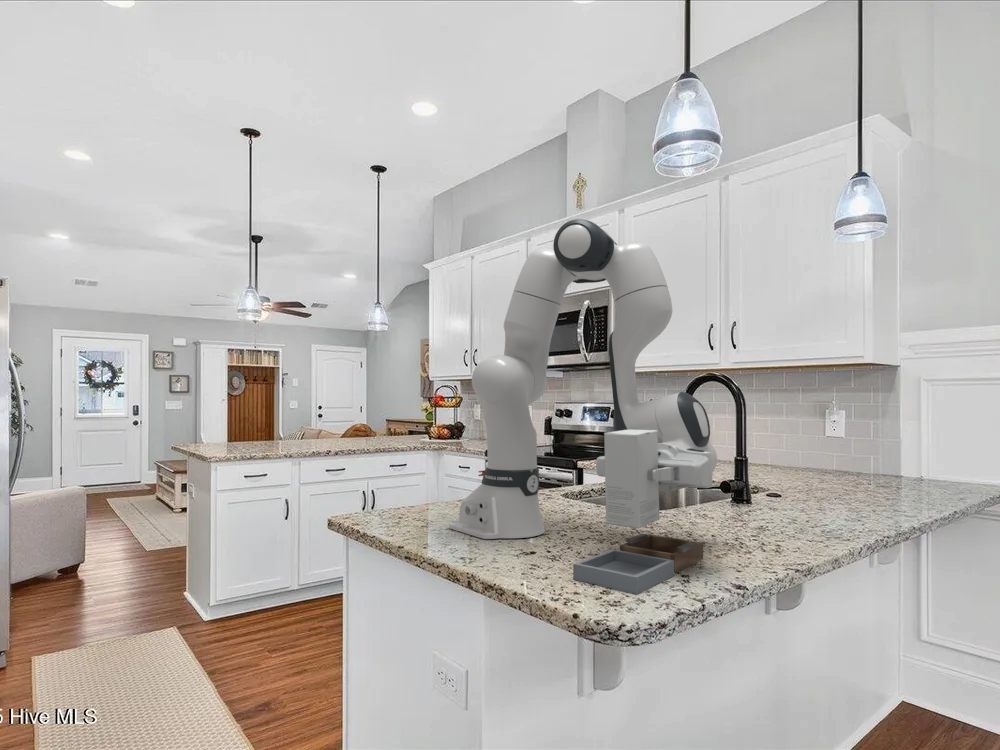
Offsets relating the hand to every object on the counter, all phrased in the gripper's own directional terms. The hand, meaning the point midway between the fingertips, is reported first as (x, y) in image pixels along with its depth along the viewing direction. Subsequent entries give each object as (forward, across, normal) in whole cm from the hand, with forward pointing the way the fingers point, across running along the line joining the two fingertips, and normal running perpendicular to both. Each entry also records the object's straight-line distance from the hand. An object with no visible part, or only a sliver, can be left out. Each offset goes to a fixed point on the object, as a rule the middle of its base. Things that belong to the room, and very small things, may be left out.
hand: (629, 473), depth 101 cm
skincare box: (-1, 0, +9) cm, 9 cm away
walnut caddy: (-11, 0, +17) cm, 20 cm away
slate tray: (+2, 0, +17) cm, 17 cm away
